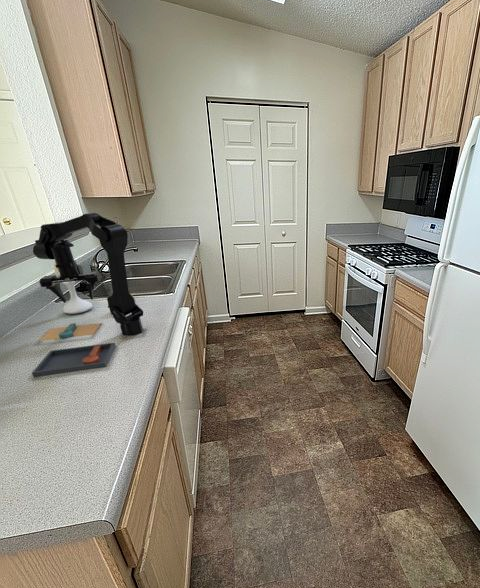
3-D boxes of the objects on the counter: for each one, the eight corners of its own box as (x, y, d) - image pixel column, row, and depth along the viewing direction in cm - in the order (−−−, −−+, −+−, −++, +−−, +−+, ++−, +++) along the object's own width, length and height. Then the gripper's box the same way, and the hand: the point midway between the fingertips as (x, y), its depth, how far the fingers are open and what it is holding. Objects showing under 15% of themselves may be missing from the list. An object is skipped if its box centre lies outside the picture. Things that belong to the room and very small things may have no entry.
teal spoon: (80, 327, 132) (79, 322, 131) (71, 338, 122) (69, 333, 122) (68, 328, 131) (66, 324, 130) (58, 340, 121) (56, 335, 121)
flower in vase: (61, 311, 150) (41, 255, 138) (90, 305, 156) (72, 251, 145) (67, 319, 141) (46, 260, 130) (97, 312, 148) (79, 255, 136)
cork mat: (100, 324, 135) (100, 323, 135) (91, 338, 123) (91, 337, 123) (50, 329, 131) (50, 329, 131) (36, 345, 119) (35, 344, 119)
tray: (116, 348, 116) (114, 342, 115) (106, 369, 103) (104, 362, 102) (52, 356, 111) (50, 350, 110) (34, 379, 99) (31, 372, 98)
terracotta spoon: (106, 350, 113) (104, 344, 112) (98, 365, 103) (96, 360, 103) (92, 351, 112) (90, 346, 111) (82, 368, 102) (80, 362, 101)
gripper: (98, 253, 129) (109, 292, 136) (43, 257, 124) (58, 297, 131) (91, 259, 119) (103, 300, 126) (31, 264, 115) (48, 306, 122)
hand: (78, 300), depth 127 cm, fingers open, 9 cm apart
